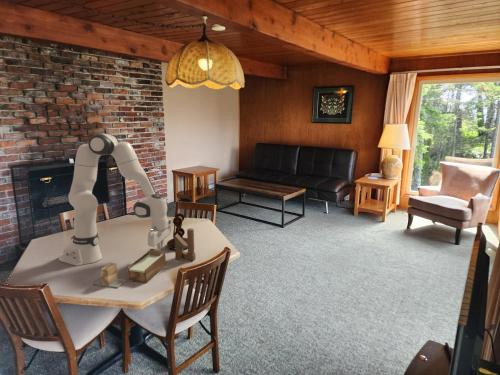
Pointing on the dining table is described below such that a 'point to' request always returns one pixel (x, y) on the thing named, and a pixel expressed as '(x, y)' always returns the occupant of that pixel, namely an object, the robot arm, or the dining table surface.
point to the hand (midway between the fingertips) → (160, 248)
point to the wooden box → (147, 270)
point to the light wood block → (109, 274)
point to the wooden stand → (185, 246)
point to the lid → (146, 261)
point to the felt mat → (115, 284)
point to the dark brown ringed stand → (177, 230)
